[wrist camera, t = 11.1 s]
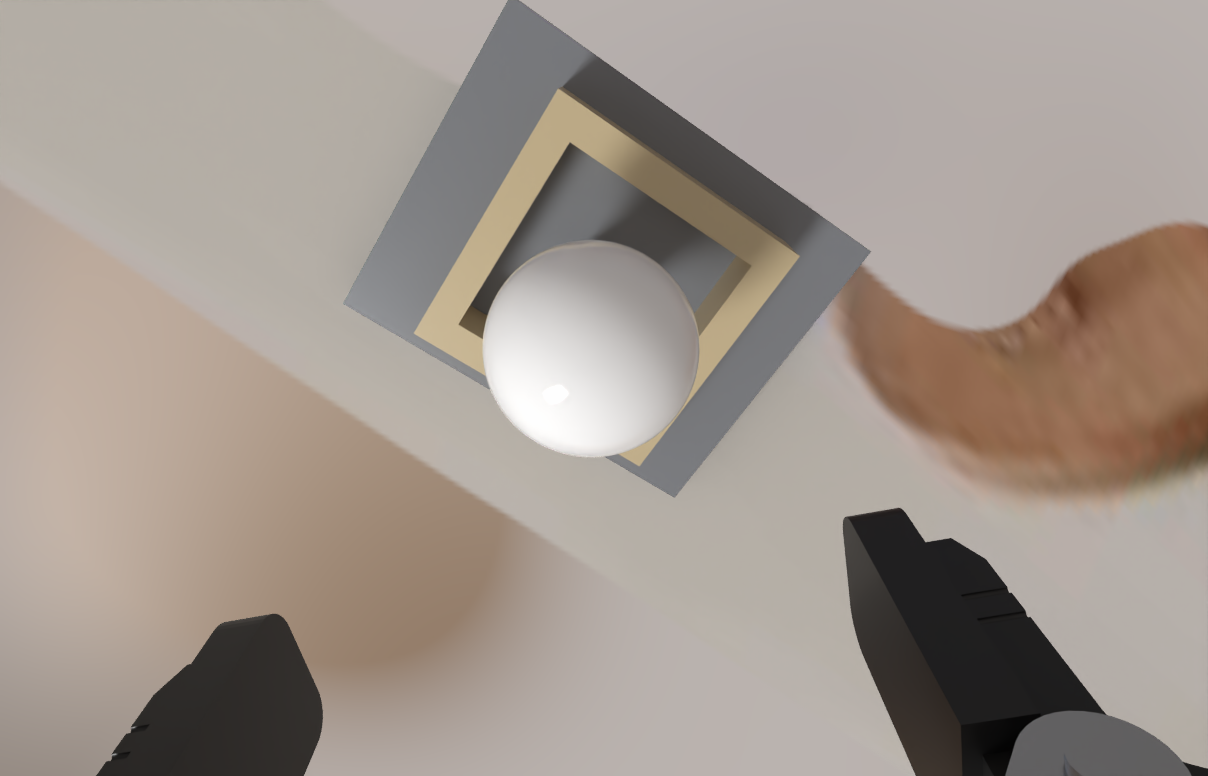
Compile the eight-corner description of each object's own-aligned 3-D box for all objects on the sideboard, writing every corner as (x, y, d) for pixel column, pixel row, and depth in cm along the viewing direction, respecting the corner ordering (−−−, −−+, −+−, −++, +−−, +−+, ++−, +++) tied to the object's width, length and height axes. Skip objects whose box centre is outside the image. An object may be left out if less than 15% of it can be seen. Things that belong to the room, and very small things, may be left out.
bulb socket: (354, 293, 32) (320, 323, 28) (515, -2, 27) (501, -13, 24) (671, 480, 35) (679, 529, 31) (859, 243, 31) (893, 267, 27)
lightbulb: (648, 376, 31) (666, 523, 21) (497, 333, 31) (441, 463, 21) (700, 226, 29) (748, 311, 19) (538, 176, 28) (497, 236, 18)
